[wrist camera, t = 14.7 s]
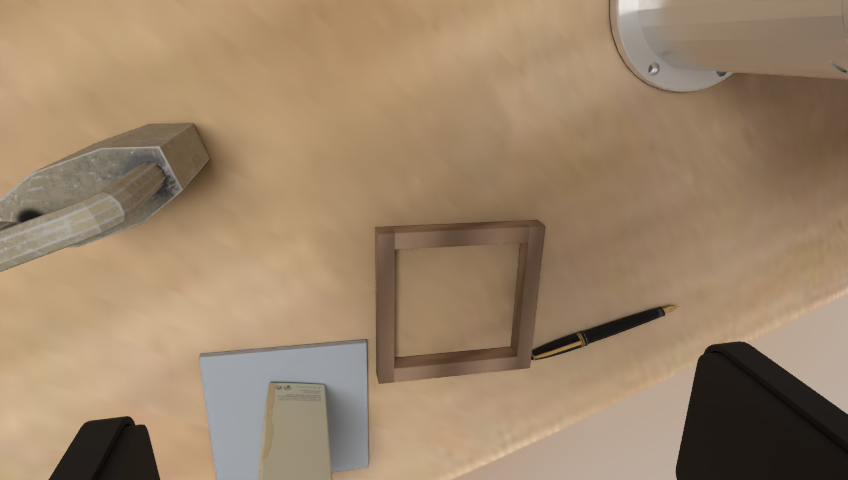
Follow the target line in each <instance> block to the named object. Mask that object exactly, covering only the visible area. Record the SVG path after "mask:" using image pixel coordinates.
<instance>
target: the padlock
mask: <svg viewBox="0 0 848 480" xmlns="http://www.w3.org/2000/svg"><path fill="white" fill-rule="evenodd" d="M209 159H210V157H209V155H208V153H207V151H206V149H205V147H204V145H203V143H202V141H201V139H200V137H199V135H198V133H197V131H196V129H195V127H194V125H193V123H187V124H148V125H145V126H142V127H140V128H137V129H134V130H131V131H129V132H126V133H123V134H120V135H117V136H115V137H112V138H109V139H106V140H103V141H101V142H98V143H95V144H93V145H91V146H89V147H87V148H84V149H82V150H80V151H78V152H76V153H74V154H72V155H69V156H67V157H65V158H63V159H61V160H59V161H56V162H54V163H52V164H50V165H48V166H46V167H44V168H41V169H39V170H37V171H35V172H33V173H31V174H30V175H29V176H27V177H26V178H25V179H24V180H23V181H22V182H20V183H19V184H18V185H17V186H16V187H15V188H13V189H12V190H11V191H10V192H9V193H8V194H6V195H5V196H4V197H3V198H2V199H1V200H0V220H1V221H0V272H1V271H4V270H7V269H9V268H12V267H15V266H17V265H20V264H23V263H26V262H28V261H31V260H34V259H36V258H39V257H42V256H44V255H47V254H50V253H52V252H55V251H58V250H60V249H63V248H67V247H80V246H83V245H85V244H88V243H91V242H93V241H96V240H99V239H101V238H104V237H107V236H109V235H112V234H115V233H117V232H120V231H123V230H125V229H128V228H131V227H134V226H136V225H139V224H142V223H144V222H146V221H147V220H148V219H149V218H151V217H152V216H153V215H154V214H155V213H157V212H158V211H159V210H160V209H161V208H163V207H164V206H165V205H166V204H167V203H169V202H170V201H171V200H172V199H173V198H175V197H176V196H177V195H178V194H179V193H181V192H182V191H183V190H184V189H185V187H186V186H187V185H188V184H189V183H190V182H191V180H192V179H193V178H194V177H195V176H196V174H197V173H198V172H199V171H200V170H201V169H202V167H203V166H204V165H205V164H206V163H207V161H208V160H209Z"/></svg>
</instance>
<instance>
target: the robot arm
mask: <svg viewBox="0 0 848 480" xmlns="http://www.w3.org/2000/svg"><path fill="white" fill-rule="evenodd" d="M610 20H611V26H612V33H613V37H614V40H615V43H616V46H617V48H618V51H619V53H620V55H621V56H622V58H623V60H624V62H625V63H626V65H627V66H628V67H629V68H630V69H631V70H632V72H633V73H634V74H635V75H636V76H637V77H639V78H640V79H642V80H643V81H645V82H646V83H647V84H649V85H652V86H654V87H657V88H660V89H663V90H670V91H676V92H692V91H696V90H701V89H706V88H708V87H711V86H713V85H715V84H718V83H720V82H722V81H723V80H725V79H726V78H728V77H729V76H731V75H732V74H734V73H735V72H737V73H753V74H769V75H785V76H801V77H817V78H833V79H848V0H610ZM648 68H649V70H648ZM676 478H677V480H848V414H846V413H845V412H844V411H842V410H841V409H839V408H838V407H836V406H835V405H834V404H832V403H831V402H830V401H828V400H827V399H825V398H824V397H823V396H821V395H820V394H818V393H817V392H816V391H814V390H813V389H811V388H810V387H808V386H807V385H806V384H804V383H803V382H802V381H800V380H799V379H797V378H796V377H795V376H793V375H792V374H790V373H789V372H788V371H786V370H785V369H783V368H782V367H780V366H779V365H778V364H776V363H775V362H773V361H772V360H771V359H769V358H768V357H766V356H765V355H764V354H762V353H761V352H759V351H758V350H757V349H755V348H754V347H752V346H751V345H749V344H747V343H745V342H740V341H739V342H730V343H722V344H714V345H711V346H708V348H707V349H706V350H705V352H704V354H703V355H701V356H700V357H699V359H698V362H697V367H696V372H695V377H694V381H693V387H692V392H691V396H690V401H689V406H688V411H687V416H686V421H685V426H684V431H683V436H682V441H681V445H680V451H679V455H678V460H677V465H676ZM49 480H160V477H159V473H158V469H157V465H156V461H155V457H154V453H153V449H152V445H151V441H150V437H149V433H148V430H147V428H146V426H145V425H135V423H134V421H133V419H132V418H131V417H128V416H126V417H118V418H109V419H101V420H93V421H88V422H86V423H84V425H83V426H82V427H81V428H80V430H79V431H78V433H77V435H76V436H75V438H74V440H73V441H72V443H71V444H70V446H69V448H68V449H67V451H66V453H65V454H64V456H63V457H62V459H61V461H60V462H59V464H58V465H57V467H56V469H55V470H54V472H53V474H52V475H51V477H50V478H49Z"/></svg>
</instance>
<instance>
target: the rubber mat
mask: <svg viewBox="0 0 848 480" xmlns="http://www.w3.org/2000/svg"><path fill="white" fill-rule="evenodd" d="M199 360H200V367H201V374H202V381H203V388H204V395H205V402H206V409H207V417H208V424H209V431H210V438H211V445H212V452H213V459H214V466H215V473H216V480H257V479H258V468H259V457H260V447H261V438H262V429H263V421H264V413H265V406H266V399H267V393H268V386H269V383H302V384H323V385H325V393H326V406H327V419H328V432H329V446H330V458H331V471H332V472H338V471H345V470H352V469H360V468H367V467H368V406H367V344H366V339H365V340H354V341H342V342H331V343H319V344H308V345H296V346H285V347H273V348H262V349H250V350H239V351H227V352H216V353H204V354H200V357H199Z"/></svg>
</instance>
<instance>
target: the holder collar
mask: <svg viewBox="0 0 848 480" xmlns="http://www.w3.org/2000/svg"><path fill="white" fill-rule="evenodd" d="M544 233H545V226H544V225H543V224H542V223H540V222H539V221H538V220H527V221H505V222H482V223H460V224H437V225H415V226H392V227H375V267H376V373H377V378H378V382H379V384H382V383H391V382H401V381H410V380H420V379H429V378H439V377H448V376H458V375H467V374H477V373H487V372H496V371H506V370H515V369H525V368H530V363H531V354H532V345H533V335H534V326H535V317H536V308H537V298H538V289H539V280H540V270H541V261H542V252H543V243H544ZM507 243H520V251H519V262H518V273H517V284H516V295H515V305H514V316H513V327H512V338H511V347H504V348H493V349H483V350H472V351H462V352H451V353H441V354H430V355H420V356H409V357H399V358H394V336H395V249H413V248H432V247H451V246H469V245H488V244H507Z"/></svg>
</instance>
